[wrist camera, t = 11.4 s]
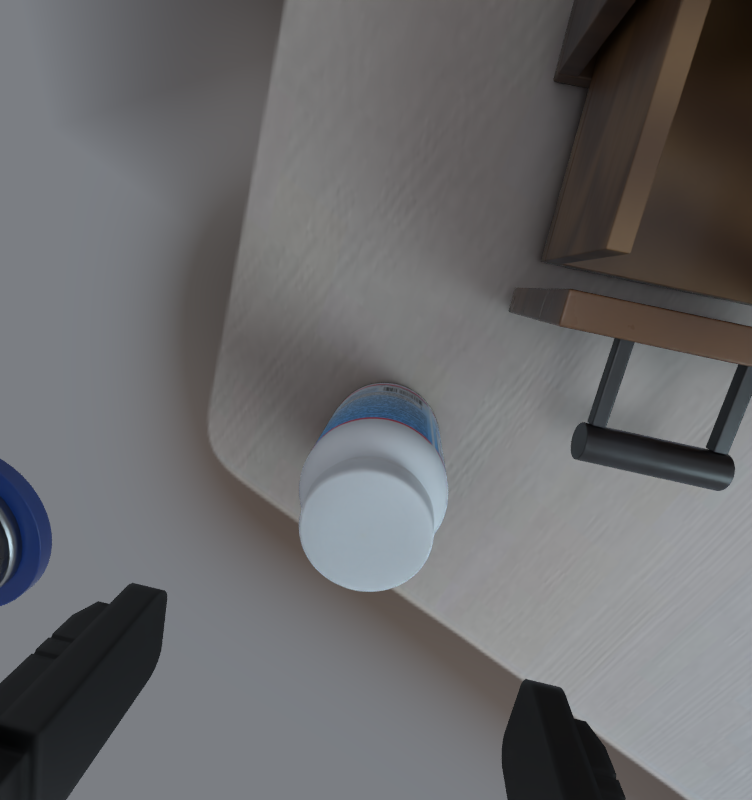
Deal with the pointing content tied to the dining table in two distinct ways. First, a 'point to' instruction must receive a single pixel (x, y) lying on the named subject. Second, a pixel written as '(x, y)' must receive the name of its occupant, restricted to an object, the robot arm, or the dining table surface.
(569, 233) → the drawer
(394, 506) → the pill bottle
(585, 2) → the cabinet
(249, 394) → the dining table surface
